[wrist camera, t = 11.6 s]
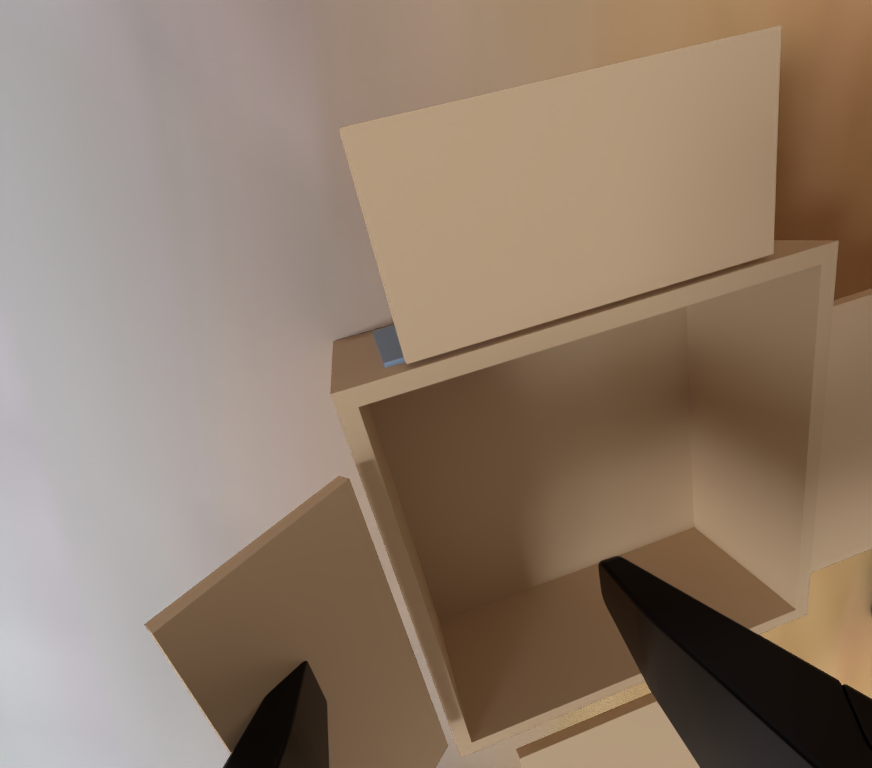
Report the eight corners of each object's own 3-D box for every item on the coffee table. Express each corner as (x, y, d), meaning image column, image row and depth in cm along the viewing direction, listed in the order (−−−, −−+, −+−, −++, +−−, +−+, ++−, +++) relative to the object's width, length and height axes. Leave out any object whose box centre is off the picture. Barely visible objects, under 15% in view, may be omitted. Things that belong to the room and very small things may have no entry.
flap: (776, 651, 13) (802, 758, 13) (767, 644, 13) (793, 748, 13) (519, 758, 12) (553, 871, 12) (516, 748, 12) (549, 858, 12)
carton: (809, 54, 12) (1041, -38, 8) (785, 491, 18) (919, 567, 14) (279, 183, 11) (241, 148, 7) (429, 624, 16) (460, 757, 12)
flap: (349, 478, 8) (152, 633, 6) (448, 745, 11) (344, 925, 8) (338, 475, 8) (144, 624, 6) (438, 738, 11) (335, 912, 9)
